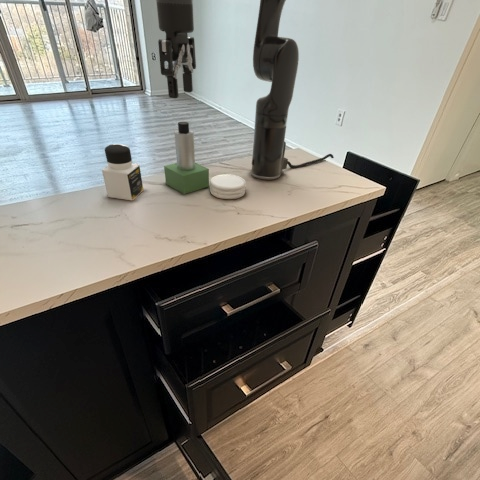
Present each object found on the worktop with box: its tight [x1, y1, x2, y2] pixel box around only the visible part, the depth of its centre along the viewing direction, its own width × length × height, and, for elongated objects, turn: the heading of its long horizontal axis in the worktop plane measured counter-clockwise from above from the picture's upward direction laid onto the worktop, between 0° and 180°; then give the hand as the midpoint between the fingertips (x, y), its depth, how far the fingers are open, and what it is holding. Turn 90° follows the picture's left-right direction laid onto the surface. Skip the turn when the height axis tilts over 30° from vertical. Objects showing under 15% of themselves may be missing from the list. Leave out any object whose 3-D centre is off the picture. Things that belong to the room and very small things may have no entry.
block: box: [163, 162, 210, 195], centre depth 91 cm, size 9×9×5 cm
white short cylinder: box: [209, 173, 247, 200], centre depth 90 cm, size 10×10×4 cm
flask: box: [173, 121, 196, 171], centre depth 86 cm, size 5×5×11 cm
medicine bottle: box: [101, 143, 144, 201], centre depth 83 cm, size 7×7×12 cm
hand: (181, 94), depth 78 cm, fingers open, 8 cm apart
